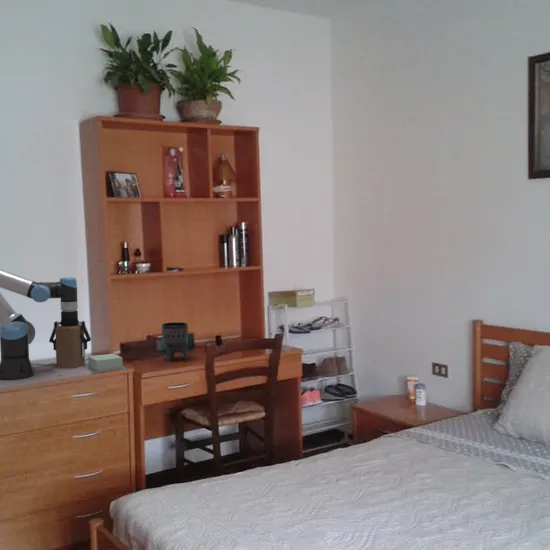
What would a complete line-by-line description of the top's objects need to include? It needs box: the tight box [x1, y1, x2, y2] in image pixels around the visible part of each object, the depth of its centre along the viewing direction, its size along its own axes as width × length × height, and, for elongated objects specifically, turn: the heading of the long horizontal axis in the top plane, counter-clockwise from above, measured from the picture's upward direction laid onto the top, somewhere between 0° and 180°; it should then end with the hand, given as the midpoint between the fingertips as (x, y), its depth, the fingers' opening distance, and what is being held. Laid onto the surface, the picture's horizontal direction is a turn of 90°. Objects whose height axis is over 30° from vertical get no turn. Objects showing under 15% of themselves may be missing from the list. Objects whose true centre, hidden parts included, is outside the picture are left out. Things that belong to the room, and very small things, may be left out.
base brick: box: [88, 353, 124, 372], centre depth 310 cm, size 12×12×5 cm
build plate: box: [83, 365, 129, 374], centre depth 311 cm, size 16×16×1 cm
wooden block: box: [55, 324, 86, 369], centre depth 315 cm, size 10×10×20 cm
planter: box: [161, 321, 189, 363], centre depth 333 cm, size 13×13×18 cm
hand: (70, 356), depth 316 cm, fingers closed on wooden block, 11 cm apart
